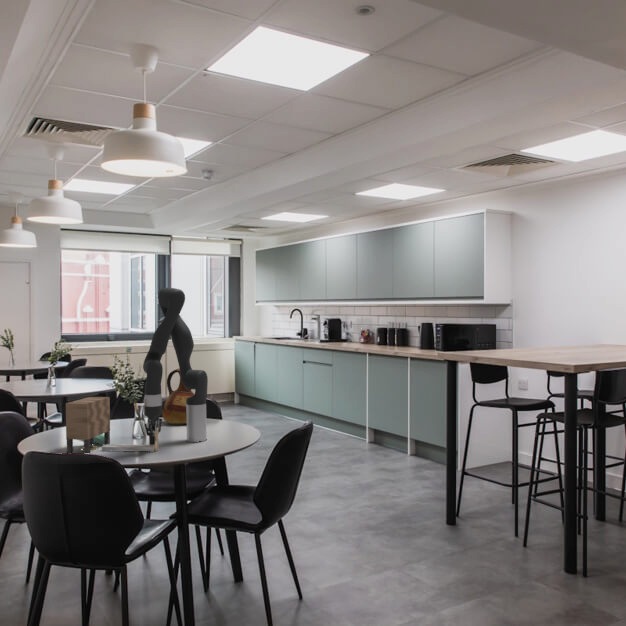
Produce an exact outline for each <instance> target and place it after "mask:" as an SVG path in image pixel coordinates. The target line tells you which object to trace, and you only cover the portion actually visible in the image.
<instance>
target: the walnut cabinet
mask: <svg viewBox="0 0 626 626" xmlns="http://www.w3.org/2000/svg"><path fill="white" fill-rule="evenodd" d="M110 400H111V399H110V396H89V397H84V398H81V399H77V400H73V401H70V402H66V403H65V434H66V435H65V436H66V454H67V453H72V452H73V453H74V440H79V441H81V440H82V441H83V447H84V451H83V454H84V453H90V454H91V451H90V446H93V445H92V444H94V445H95V442H94V437H96V436H98V435H101V434H104V445H106V444H111V413H110V412H111V410H110V409H111V406H110V405H111V404H110V402H111V401H110ZM104 445H103V446H104Z"/></svg>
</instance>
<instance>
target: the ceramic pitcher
mask: <svg viewBox="0 0 626 626" xmlns="http://www.w3.org/2000/svg"><path fill="white" fill-rule="evenodd" d="M176 373H178V375H179V384H178V387H177V389H176V390H173V389H172V386H171V381H172V378H173V375H175V374H176ZM166 386H167V390H168V397H167V399H166V400H165V402H164V404H163V406H162V415H161V416H162V419H163V420H164V421H165V422H166V423H169V424H170V425H171V424H172V425H185V424H186V425H187V413H186V399H187V398H188V397H191V396H193V395H194V394H195V392H193V391H192V389H186V388H185V387H184V385H183V383H182V379H181V374H180V368H178V367H177V369H176V368H175V369H173V370H172V371H171V372H169V374H168V376H167V379H166Z"/></svg>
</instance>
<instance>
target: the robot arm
mask: <svg viewBox="0 0 626 626" xmlns="http://www.w3.org/2000/svg"><path fill="white" fill-rule="evenodd" d="M157 301H158V305H159V307H160V309H161V313H162V314H163V316H164V318H163V320H162V321H161V322H160V324H158V327H157V328H156V329H155V331H154V334H153V336H152V339H151V343H150V345H149V349H148V351H147V354H146V356H145V358H144V360H143V365H142V370H143V371H144V373H145V374H146V382H145V383H144V398H143V399H144V404H143V405H144V406H143V407H144V416H145V417H147V423H144V428H145V433H146V436H147V437H148V440H149V441H150V445H154V444H155V431H156V427H157V428H158V435H159V434H160V433H161V430H162V423H163V418H160V416H163V415H162V412H163V397H162V378H163V374H164V373H163V364H162V362H161V361H162V357H163V355H164V354H165V353H166V351H167V348H168V345H169V340H171V342H172V346H173V349H174V351H175V355H176V359H177V362H178V363H177V364H178V367H179V369H180V374H181V379H182V383H183V385H184V387H185V388H186V389H191V390H195V391H194V395H193V396H191V397H188V398H187V399H186V413H187V424H186V441H187V442H189V443H198V442H199V441H201V442H205V441H207V440H208V439H207V437H208V435H207V433H208V432H207V427H208V425H207V398H208V383H209V382H208V381H209V380H208V375H207V372H206V370H204V369H193V368H192V366H191V365H192V364H191V360H190V359H191V357H192V353H193V351H194V348H195V347H194V345H195V344H194V338H193V335H192V332H191V330H190V328H189V327H188V325H187V323H186V322H185V321H184V319H183V318H182V317H181V315H180V314H181V311H182V309H183V307H184V304H185V301H186V294H185V293H184V291H183V290H182V289H179V288H173V287H163V288H161V289H159V292H158V295H157ZM170 338H171V339H170ZM152 428H154V429H152ZM206 439H207V440H206ZM149 441H148V442H149ZM199 443H200V442H199Z"/></svg>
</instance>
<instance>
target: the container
mask: <svg viewBox="0 0 626 626" xmlns="http://www.w3.org/2000/svg"><path fill="white" fill-rule="evenodd" d="M95 442H96V443H95ZM94 443H95V444H97V443H98V444H99V445H100V444H104V433H103V434H101V435H98V436H96V437H94Z"/></svg>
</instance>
